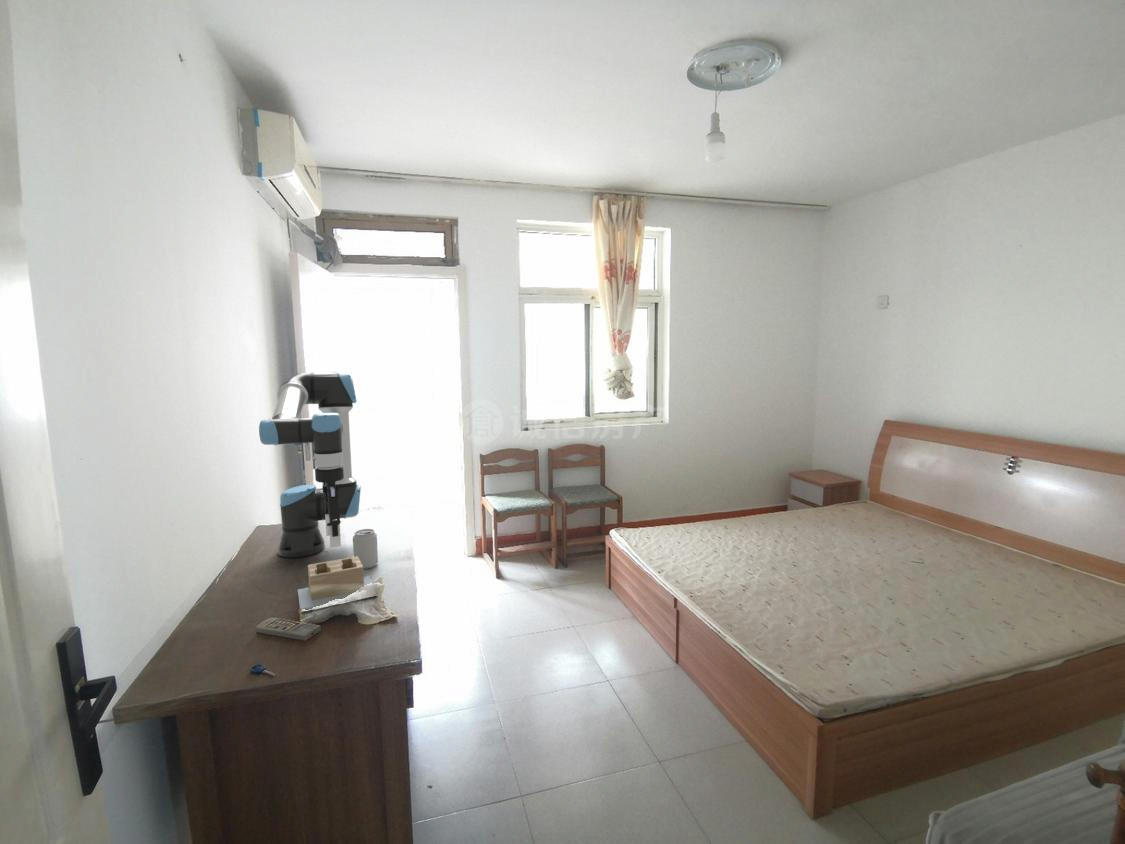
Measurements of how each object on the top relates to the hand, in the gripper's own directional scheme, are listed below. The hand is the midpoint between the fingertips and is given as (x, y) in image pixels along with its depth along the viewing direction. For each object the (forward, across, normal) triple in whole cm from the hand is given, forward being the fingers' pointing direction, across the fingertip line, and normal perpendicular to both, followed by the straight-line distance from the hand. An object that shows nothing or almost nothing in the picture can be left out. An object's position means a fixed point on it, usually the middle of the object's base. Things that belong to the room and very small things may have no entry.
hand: (333, 540), depth 152 cm
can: (+16, -17, +11) cm, 26 cm away
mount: (+16, +2, 0) cm, 16 cm away
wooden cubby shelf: (+15, 0, 0) cm, 15 cm away
